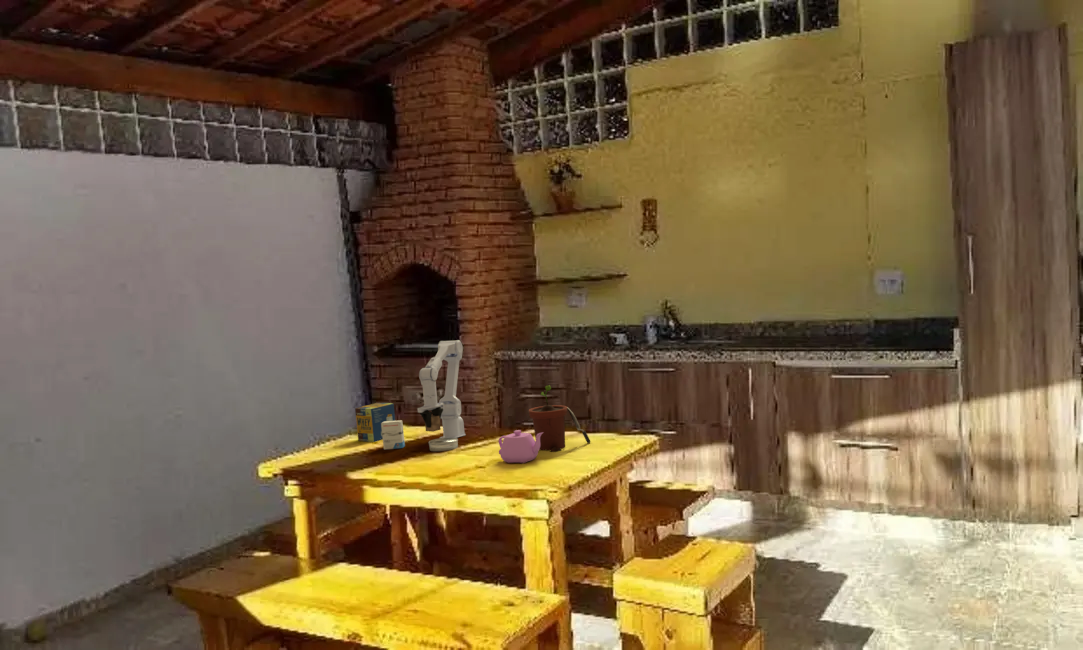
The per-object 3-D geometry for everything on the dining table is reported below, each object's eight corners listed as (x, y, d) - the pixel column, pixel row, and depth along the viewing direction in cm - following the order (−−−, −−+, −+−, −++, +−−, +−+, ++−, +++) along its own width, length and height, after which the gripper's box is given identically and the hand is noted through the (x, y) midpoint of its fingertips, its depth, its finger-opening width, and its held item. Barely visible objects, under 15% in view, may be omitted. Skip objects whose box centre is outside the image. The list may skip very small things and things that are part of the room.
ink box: (405, 446, 389) (402, 419, 388) (402, 448, 384) (399, 421, 383) (386, 447, 390) (383, 420, 389) (383, 449, 385) (380, 422, 384)
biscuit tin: (443, 444, 386) (442, 436, 386) (464, 446, 378) (463, 438, 378) (423, 450, 376) (422, 442, 376) (444, 452, 368) (443, 444, 368)
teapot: (491, 464, 338) (488, 434, 337) (507, 456, 350) (505, 427, 349) (538, 465, 329) (536, 434, 329) (553, 457, 341) (550, 427, 341)
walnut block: (433, 429, 387) (431, 415, 387) (440, 429, 384) (439, 415, 384) (425, 431, 383) (424, 417, 383) (433, 431, 381) (431, 417, 380)
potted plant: (544, 441, 372) (539, 383, 371) (591, 442, 362) (586, 382, 361) (524, 451, 357) (519, 390, 355) (573, 452, 347) (567, 389, 345)
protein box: (357, 441, 410) (354, 408, 409) (381, 434, 423) (378, 402, 422) (373, 442, 404) (370, 408, 403) (397, 435, 417) (394, 402, 416)
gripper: (435, 392, 391) (438, 422, 392) (411, 397, 380) (414, 429, 380) (446, 392, 387) (449, 423, 387) (423, 398, 375) (426, 429, 376)
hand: (432, 426), depth 384 cm, fingers closed on walnut block, 4 cm apart
